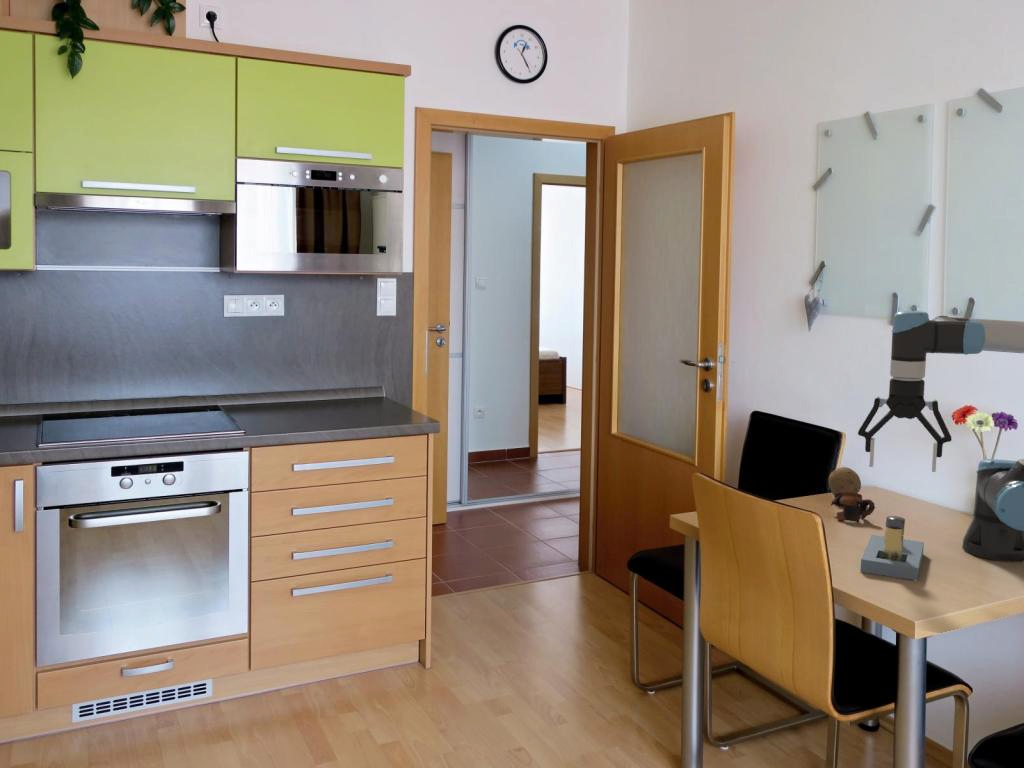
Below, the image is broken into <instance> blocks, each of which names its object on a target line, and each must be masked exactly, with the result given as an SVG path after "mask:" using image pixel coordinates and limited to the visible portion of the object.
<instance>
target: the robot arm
mask: <svg viewBox="0 0 1024 768" xmlns="http://www.w3.org/2000/svg"><path fill="white" fill-rule="evenodd" d="M983 351H985V352H994V353H995V352H996V353H997V352H998V353H1010V354H1011V353H1012V354H1013V353H1014V354H1024V321H1022V320H1021V321H1019V320H1003V319H987V318H971V317H970V318H965V317H952V316H947V315H938V316H934V317H932V318H929V313H928V312H926V311H919V310H918V311H914V310H903V311H897V312H896V313H895V314H894V316H893V324H892V330H891V352H890V353H891V354H890V356H891V357H890V366H889V367H890V371H889V375H890V377H892V378H890V380H889V385H888V386H889V388H888V398H881V397H880V396H876V397H875V398H874V401H873V405H872V408H871V410H870V411H869V413H868V414H867V416H866V418H865V420H864V421H863V423H862V425H860V427H859V429H858V431H857V435H858V436H860V437H863V438H864V439H865V447H864V449H865V452H866V453H869V465H868V467H869V468H870V467H871V468H873V467H874V459H875V458H874V456H875V440H876V439H875V437H874V436H875V435H876V434H877V433H878V432H879V431H880V430H881V429H882V428H883V427H884V426H886V424H887V423H888V422H889V421H890V420H891V419H892V418H894V417H896V418H897V419H907V420H913V419H915V418H916V419H917V420H918V421H919V422H920V424H922V426H923V427H924V428H925V429H926V431H928V433H929V434H930V436H931V437H932V438H933V439H934V440H935V441H933V446H932V461H931V472H932V473H936V472H937V458H942V456H943V445H944V444H946V443H949V442H952V436H951V433H950V431H949V429H948V427H947V425H946V423H945V420H944V418H943V416H942V414H941V413H940V412H941V411H940V410H939V402H938V400H937V399H933V400H927V401H926V400H925V398H924V397H925V384H926V383H925V380H924V378H925V376H926V368H927V367H926V366H927V354H954V355H965V356H967V355H977V354H981V352H983ZM885 404H886V406H887V408H888V409H889V411H887V413H885V414H884V416H883V417H881V419H879V421H878V422H877V423H876V424H875V425H873V426H872V427H871V428H870V429H869V430H868V431H867V428H868V427H869V426H870V424H871V422H872V420H873V418H874V417H875V416H876V414H877V412H878V410H879V408H882V407H883V406H884V405H885ZM926 407H928V410H930V411H932V413H933V416H934V418H935V420H936V422H937V424H938V426H939V429H940V430H941V432H942V434H943V435H942V436H941V435H940V434H939V433H938V431H937V430H936V429H935V428H934V427H933V425H932V424H931V423H930V421H929V420H928V419H927V417H925V415H924V414H923V413H922V411H923V410H924V408H926ZM976 474H977V475H976V484H975V494H974V496H975V497H974V505H973V506H974V507H973V516H972V520H971V521H970V524H969V525H968V528H967V530H966V533H965V535H964V537H963V539H962V549H963V551H965V552H967V553H968V554H971V555H973V556H976V557H980V558H985V559H988V560H993V561H1001V562H1024V458H1021V459H1017V460H1011V459H1010V460H1009V459H997V458H996V459H995V458H994V459H993V458H992V459H991V458H988V459H987V458H986V459H982V460H980V461H979V463H978V468H977V470H976Z"/></svg>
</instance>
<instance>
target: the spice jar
mask: <svg viewBox="0 0 1024 768" xmlns="http://www.w3.org/2000/svg"><path fill="white" fill-rule="evenodd" d="M885 518H886V520H885V521H886V522H885V530H884V536H885V539H884V551H883V559H887V560H893V561H900V562H901V560H902V548H903V539H904V535H905V524H906V519H905V518H904V517H902V516H897V515H888V516H886V517H885Z"/></svg>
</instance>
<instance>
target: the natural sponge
mask: <svg viewBox="0 0 1024 768" xmlns="http://www.w3.org/2000/svg"><path fill="white" fill-rule="evenodd" d="M861 481H862V480H861V479H860V476H859V474H858V473H857V472H856V471H854V470H853V469H852V468H850V467H847V466H842V467H838V468H836V469H833V470H832V472H830V473H829V476H828V486H829V488H830V492H831V494H832V495H833V496H834V495H835V494H837V493H841V492H853V493H858V494H859V492H860V491H861V487H862V482H861Z"/></svg>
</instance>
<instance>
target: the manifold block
mask: <svg viewBox="0 0 1024 768" xmlns="http://www.w3.org/2000/svg"><path fill="white" fill-rule="evenodd" d="M884 539H885V535H884V536H883V535H876V534H871V535H870V538H869V540H868V543H867V545H866V547H865V550H864V552H863V554H862V556H861V560H860V568H859V569H860V571H862V572H861V573H864V572H867V573H866V574H870V573H871V574H872V575H876V574H878V575H877V576H883V575H886V576H885V577H889V576H892V577H891V578H895V577H899V578H898V579H902V578H906V579H905V580H908V579H912V580H911V581H914V580H917V581H918V577H919V574H920V570H921V566H922V565H921V564H922V561H923V560H922V559H923V557H924V547H925V541H919V540H911V539H906V538H903V548H902V560H901V562H900V561H893V560H887V559H883V551H884ZM922 556H923V557H922ZM919 569H920V570H919ZM918 573H919V574H918Z"/></svg>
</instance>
